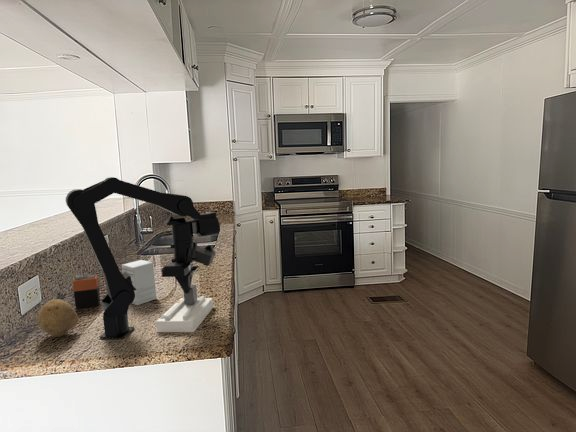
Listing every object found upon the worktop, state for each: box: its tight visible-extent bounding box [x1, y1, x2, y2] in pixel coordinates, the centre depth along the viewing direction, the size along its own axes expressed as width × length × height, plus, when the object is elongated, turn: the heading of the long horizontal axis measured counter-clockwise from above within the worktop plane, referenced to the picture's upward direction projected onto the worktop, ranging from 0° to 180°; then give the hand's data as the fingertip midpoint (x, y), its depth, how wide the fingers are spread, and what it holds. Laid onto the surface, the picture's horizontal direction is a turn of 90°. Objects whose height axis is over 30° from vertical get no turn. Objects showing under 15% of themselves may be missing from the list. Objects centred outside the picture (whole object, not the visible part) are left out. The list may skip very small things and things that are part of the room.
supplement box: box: [121, 259, 158, 306], centre depth 133 cm, size 7×7×13 cm
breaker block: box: [155, 295, 214, 333], centre depth 115 cm, size 18×10×4 cm, turn 174°
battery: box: [72, 274, 101, 309], centre depth 131 cm, size 4×7×10 cm, turn 108°
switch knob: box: [183, 284, 198, 305], centre depth 119 cm, size 3×3×5 cm
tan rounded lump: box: [36, 298, 79, 338], centre depth 107 cm, size 9×9×10 cm
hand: (187, 293), depth 116 cm, fingers closed
